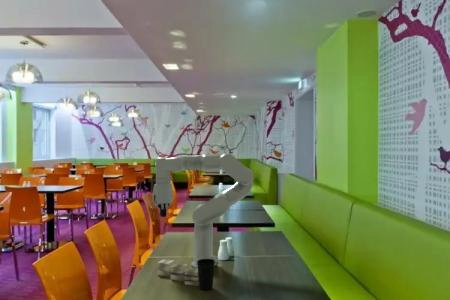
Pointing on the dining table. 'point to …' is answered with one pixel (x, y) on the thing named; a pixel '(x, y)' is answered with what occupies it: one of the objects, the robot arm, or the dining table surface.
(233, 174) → the robot arm
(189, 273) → the banded block two
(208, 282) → the cup
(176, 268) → the banded block one
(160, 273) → the plain block
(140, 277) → the dining table surface
